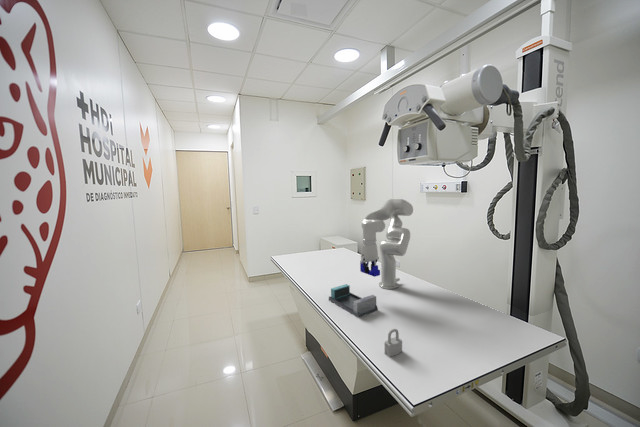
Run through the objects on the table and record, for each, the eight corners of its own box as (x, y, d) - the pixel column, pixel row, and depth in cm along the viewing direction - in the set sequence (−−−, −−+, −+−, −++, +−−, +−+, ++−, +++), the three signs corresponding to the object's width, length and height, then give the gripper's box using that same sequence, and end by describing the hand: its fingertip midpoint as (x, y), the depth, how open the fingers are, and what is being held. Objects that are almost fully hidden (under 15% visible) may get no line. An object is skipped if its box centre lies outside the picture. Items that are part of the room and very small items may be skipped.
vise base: (346, 294, 167) (346, 283, 166) (377, 310, 144) (377, 297, 143) (328, 300, 159) (328, 288, 158) (358, 317, 136) (358, 303, 136)
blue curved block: (380, 275, 154) (379, 265, 153) (374, 276, 151) (374, 266, 151) (365, 270, 164) (365, 260, 163) (360, 271, 161) (360, 262, 160)
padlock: (396, 347, 111) (396, 324, 110) (403, 352, 107) (403, 329, 106) (383, 352, 107) (383, 329, 106) (390, 358, 104) (390, 334, 103)
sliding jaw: (346, 293, 165) (346, 284, 164) (349, 294, 162) (349, 285, 162) (331, 297, 158) (330, 288, 158) (334, 299, 156) (333, 290, 155)
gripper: (375, 239, 163) (375, 267, 165) (354, 243, 154) (355, 273, 156) (384, 241, 157) (384, 270, 159) (363, 245, 148) (363, 276, 150)
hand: (369, 271), depth 157 cm, fingers closed on blue curved block, 4 cm apart
